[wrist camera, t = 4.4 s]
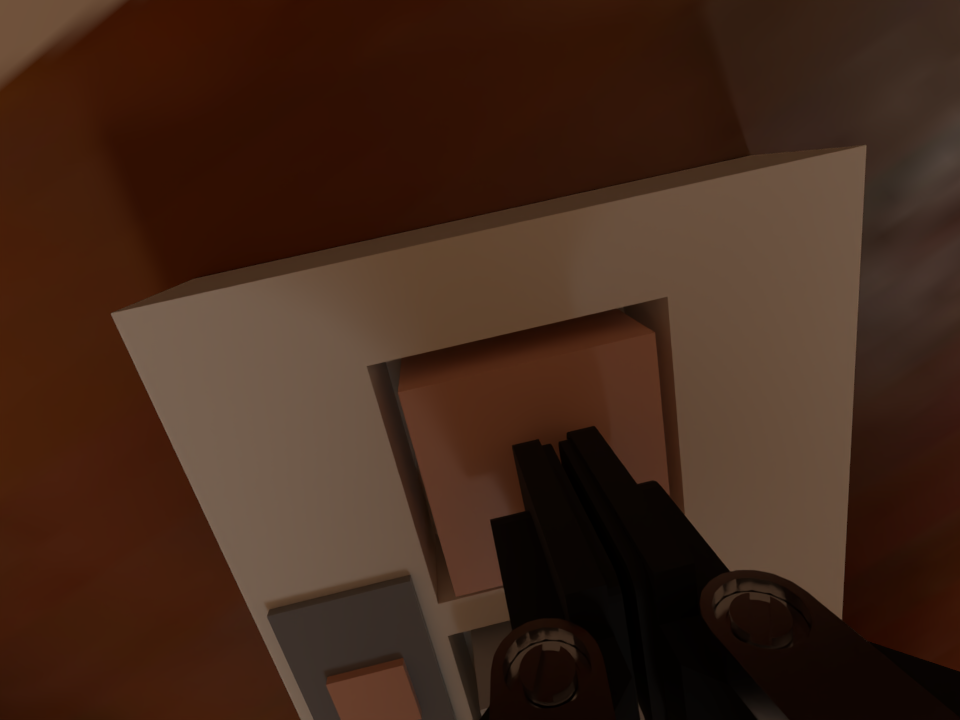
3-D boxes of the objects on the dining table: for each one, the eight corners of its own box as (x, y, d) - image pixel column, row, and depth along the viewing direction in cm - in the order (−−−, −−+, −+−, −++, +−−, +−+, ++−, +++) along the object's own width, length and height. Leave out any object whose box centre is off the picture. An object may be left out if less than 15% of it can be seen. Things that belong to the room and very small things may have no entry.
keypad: (751, 155, 13) (885, 143, 9) (763, 775, 21) (836, 900, 17) (193, 278, 12) (96, 319, 9) (428, 865, 20) (430, 1015, 17)
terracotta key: (609, 303, 12) (654, 332, 10) (630, 481, 14) (674, 542, 11) (402, 351, 12) (398, 392, 10) (449, 525, 14) (455, 596, 11)
